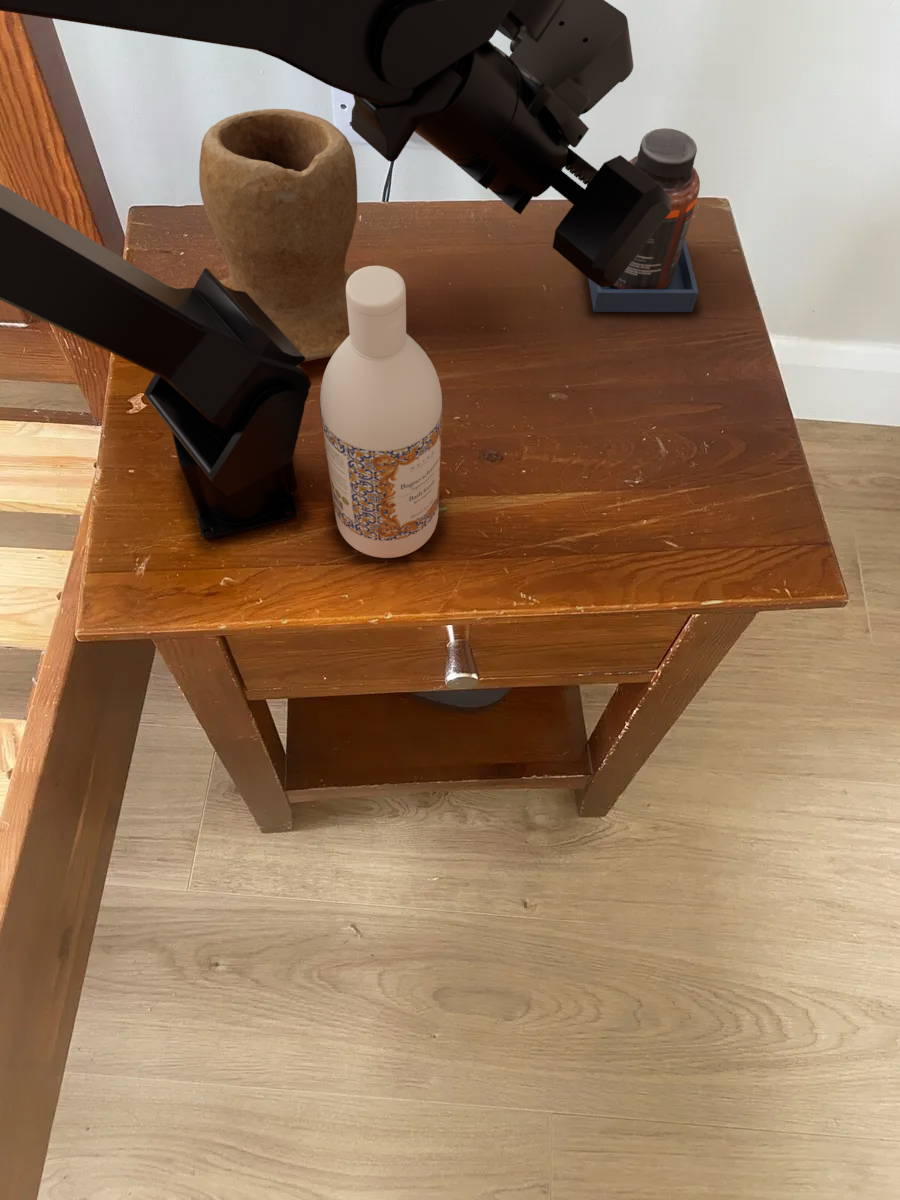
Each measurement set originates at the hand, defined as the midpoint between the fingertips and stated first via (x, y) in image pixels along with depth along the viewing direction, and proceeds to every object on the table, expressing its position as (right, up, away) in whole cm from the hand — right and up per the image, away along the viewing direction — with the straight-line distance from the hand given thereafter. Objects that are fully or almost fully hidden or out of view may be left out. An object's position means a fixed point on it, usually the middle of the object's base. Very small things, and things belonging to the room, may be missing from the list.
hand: (586, 208), depth 62 cm
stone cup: (-23, -6, +7) cm, 25 cm away
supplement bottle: (+6, -1, +11) cm, 12 cm away
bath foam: (-14, -22, -1) cm, 26 cm away
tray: (+6, -1, +11) cm, 12 cm away
